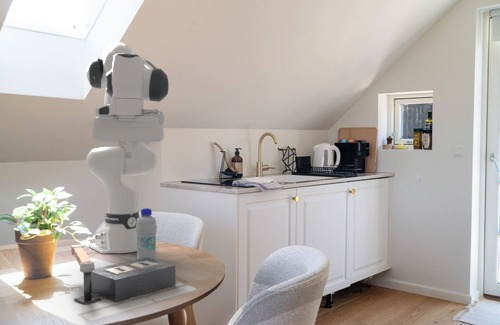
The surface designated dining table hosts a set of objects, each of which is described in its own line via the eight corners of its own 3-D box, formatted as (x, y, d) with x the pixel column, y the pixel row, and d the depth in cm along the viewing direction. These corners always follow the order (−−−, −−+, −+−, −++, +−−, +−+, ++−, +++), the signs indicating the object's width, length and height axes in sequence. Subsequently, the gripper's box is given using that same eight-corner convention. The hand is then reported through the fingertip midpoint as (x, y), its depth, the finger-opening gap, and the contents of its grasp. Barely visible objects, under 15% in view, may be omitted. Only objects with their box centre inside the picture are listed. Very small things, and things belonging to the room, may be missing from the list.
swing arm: (95, 272, 135) (95, 263, 135) (81, 273, 134) (80, 264, 134) (83, 252, 158) (82, 244, 158) (70, 253, 156) (70, 245, 156)
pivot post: (74, 300, 137) (73, 271, 136) (91, 296, 140) (90, 268, 140) (84, 304, 133) (83, 275, 133) (101, 300, 137) (100, 271, 136)
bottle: (149, 265, 172) (149, 206, 171) (161, 269, 167) (160, 208, 166) (132, 269, 167) (131, 208, 166) (143, 273, 163) (142, 210, 161)
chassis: (87, 291, 144) (87, 268, 144) (146, 276, 159) (146, 256, 159) (115, 302, 135) (115, 278, 134) (175, 285, 149) (175, 264, 149)
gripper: (166, 109, 150) (166, 157, 151) (98, 110, 152) (99, 157, 153) (160, 109, 144) (161, 158, 145) (89, 109, 146) (90, 158, 147)
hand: (128, 157), depth 149 cm, fingers closed
